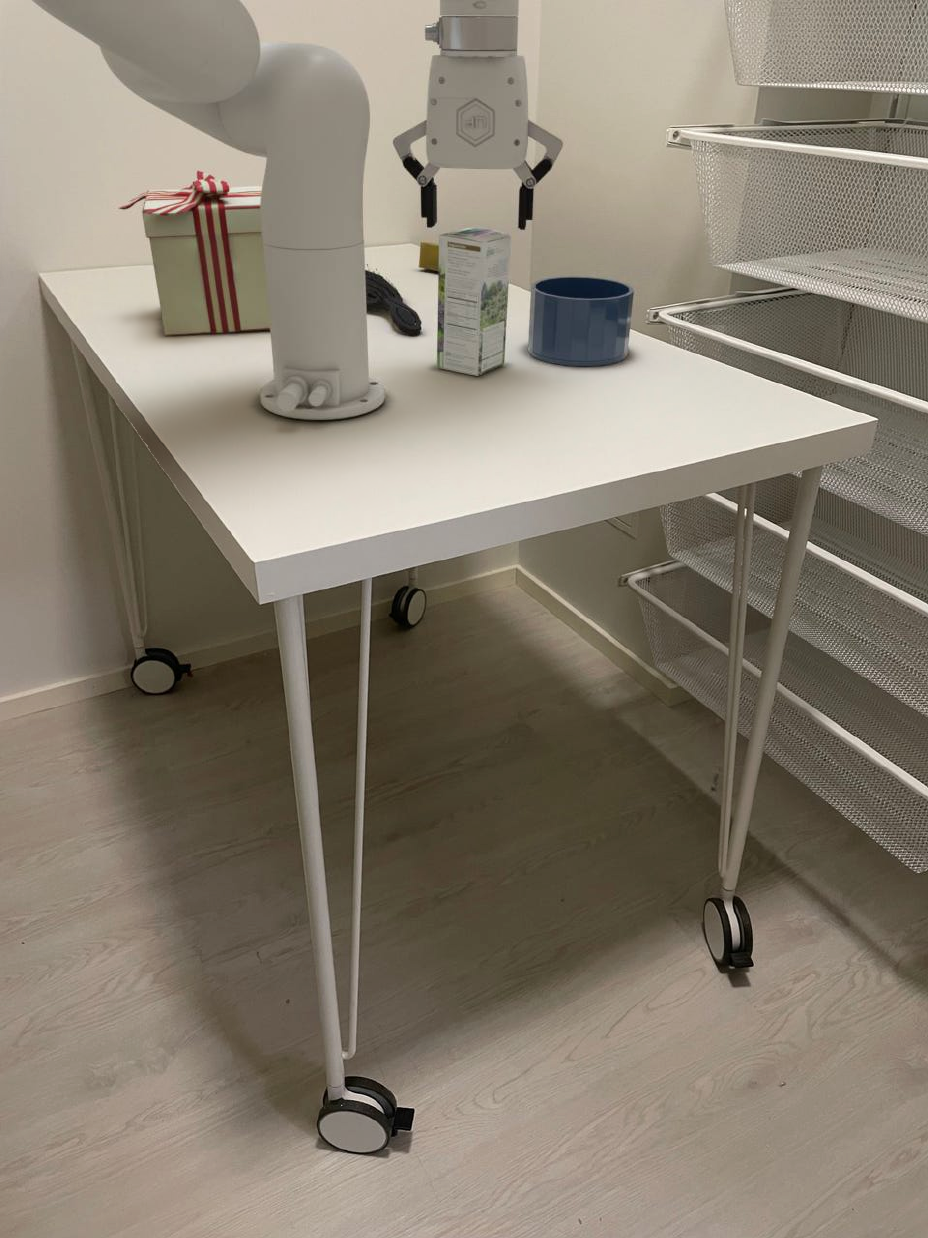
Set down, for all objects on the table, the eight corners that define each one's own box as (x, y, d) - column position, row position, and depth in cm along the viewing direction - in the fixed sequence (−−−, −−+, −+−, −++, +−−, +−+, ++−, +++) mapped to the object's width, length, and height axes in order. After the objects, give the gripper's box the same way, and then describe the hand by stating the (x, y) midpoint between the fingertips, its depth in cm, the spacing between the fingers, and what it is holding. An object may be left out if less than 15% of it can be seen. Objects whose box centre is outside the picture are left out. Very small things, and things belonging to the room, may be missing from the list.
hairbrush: (382, 315, 119) (328, 264, 138) (383, 345, 121) (329, 290, 140) (446, 310, 122) (384, 260, 141) (445, 339, 124) (384, 286, 143)
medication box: (489, 279, 151) (492, 251, 149) (479, 280, 149) (482, 252, 147) (427, 266, 156) (429, 239, 155) (417, 267, 154) (419, 240, 153)
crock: (629, 368, 112) (636, 301, 108) (525, 363, 112) (529, 297, 109) (624, 340, 122) (631, 278, 118) (530, 336, 123) (533, 274, 119)
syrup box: (463, 356, 115) (465, 225, 107) (506, 365, 112) (512, 231, 104) (436, 368, 110) (436, 232, 103) (479, 377, 108) (483, 239, 100)
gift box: (134, 310, 131) (112, 169, 122) (272, 301, 136) (261, 166, 127) (140, 344, 117) (115, 188, 108) (293, 333, 122) (282, 183, 113)
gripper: (384, 38, 92) (390, 231, 101) (568, 40, 91) (558, 235, 100) (396, 37, 98) (401, 218, 107) (568, 38, 97) (559, 222, 106)
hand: (476, 226), depth 104 cm, fingers open, 9 cm apart
